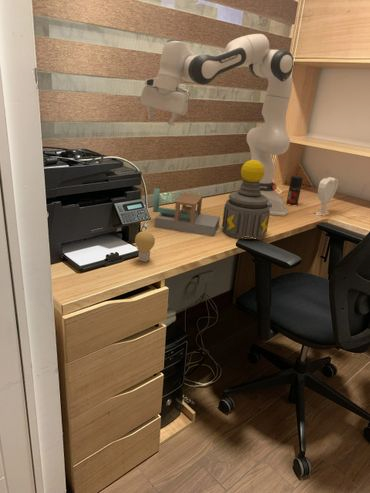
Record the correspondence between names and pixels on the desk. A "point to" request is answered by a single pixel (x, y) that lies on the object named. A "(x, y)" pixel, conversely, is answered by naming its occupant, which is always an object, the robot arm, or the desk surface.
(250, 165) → the toy power generator
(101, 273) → the desk surface
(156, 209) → the sled
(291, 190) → the deodorant
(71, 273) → the desk surface
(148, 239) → the light bulb
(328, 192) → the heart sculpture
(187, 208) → the maple block
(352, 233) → the desk surface
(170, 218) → the tunnel deck
